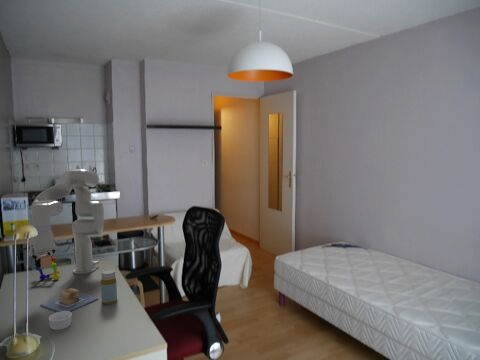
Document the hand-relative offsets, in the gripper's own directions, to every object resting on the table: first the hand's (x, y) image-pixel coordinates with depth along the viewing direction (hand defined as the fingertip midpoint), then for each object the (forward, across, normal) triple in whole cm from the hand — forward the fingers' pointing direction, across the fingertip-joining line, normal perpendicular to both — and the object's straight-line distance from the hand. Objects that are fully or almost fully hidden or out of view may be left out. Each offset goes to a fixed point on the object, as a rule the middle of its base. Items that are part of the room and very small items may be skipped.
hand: (44, 265), depth 174 cm
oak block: (+17, -4, +13) cm, 22 cm away
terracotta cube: (+1, 0, 0) cm, 1 cm away
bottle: (+18, -14, +29) cm, 37 cm away
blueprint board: (+18, -4, +13) cm, 22 cm away
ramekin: (+18, +12, +30) cm, 37 cm away
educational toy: (+18, -17, -26) cm, 36 cm away
